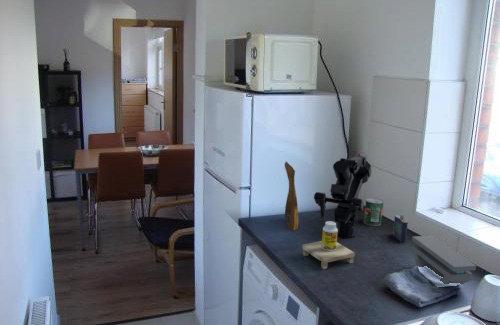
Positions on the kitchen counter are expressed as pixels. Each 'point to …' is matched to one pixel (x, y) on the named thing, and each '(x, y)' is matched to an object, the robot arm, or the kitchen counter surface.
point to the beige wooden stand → (328, 253)
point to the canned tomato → (373, 211)
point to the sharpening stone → (442, 260)
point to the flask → (400, 228)
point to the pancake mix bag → (291, 201)
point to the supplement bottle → (329, 236)
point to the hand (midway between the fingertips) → (333, 220)
